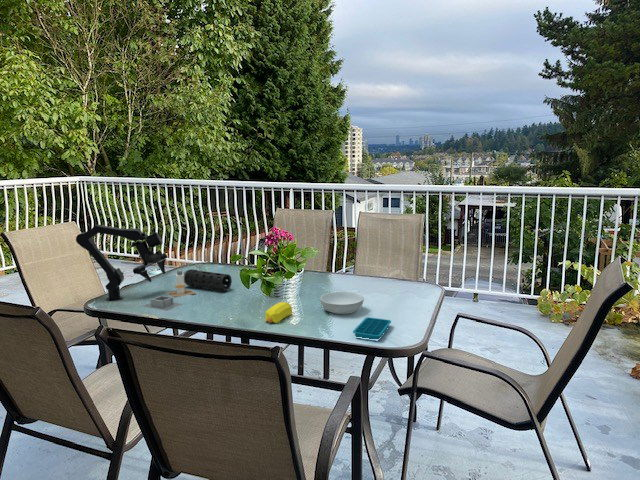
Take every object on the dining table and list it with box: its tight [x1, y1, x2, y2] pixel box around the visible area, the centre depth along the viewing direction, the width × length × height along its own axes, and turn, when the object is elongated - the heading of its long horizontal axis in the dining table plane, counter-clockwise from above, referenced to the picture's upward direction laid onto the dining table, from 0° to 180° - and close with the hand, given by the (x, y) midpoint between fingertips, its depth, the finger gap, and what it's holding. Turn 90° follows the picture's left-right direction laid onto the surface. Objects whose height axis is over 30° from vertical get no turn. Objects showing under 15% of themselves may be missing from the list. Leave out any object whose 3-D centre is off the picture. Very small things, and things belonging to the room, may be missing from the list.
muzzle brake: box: [183, 268, 232, 293], centre depth 262 cm, size 10×28×10 cm, turn 64°
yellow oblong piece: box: [264, 301, 293, 324], centre depth 214 cm, size 18×7×8 cm
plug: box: [174, 270, 186, 294], centre depth 251 cm, size 5×5×12 cm
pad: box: [165, 288, 197, 298], centre depth 252 cm, size 12×12×1 cm
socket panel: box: [142, 295, 183, 312], centre depth 230 cm, size 16×11×4 cm
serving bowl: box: [319, 291, 365, 315], centre depth 224 cm, size 21×21×7 cm
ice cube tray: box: [352, 316, 392, 339], centre depth 197 cm, size 12×20×3 cm, turn 158°
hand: (157, 277), depth 247 cm, fingers open, 9 cm apart
